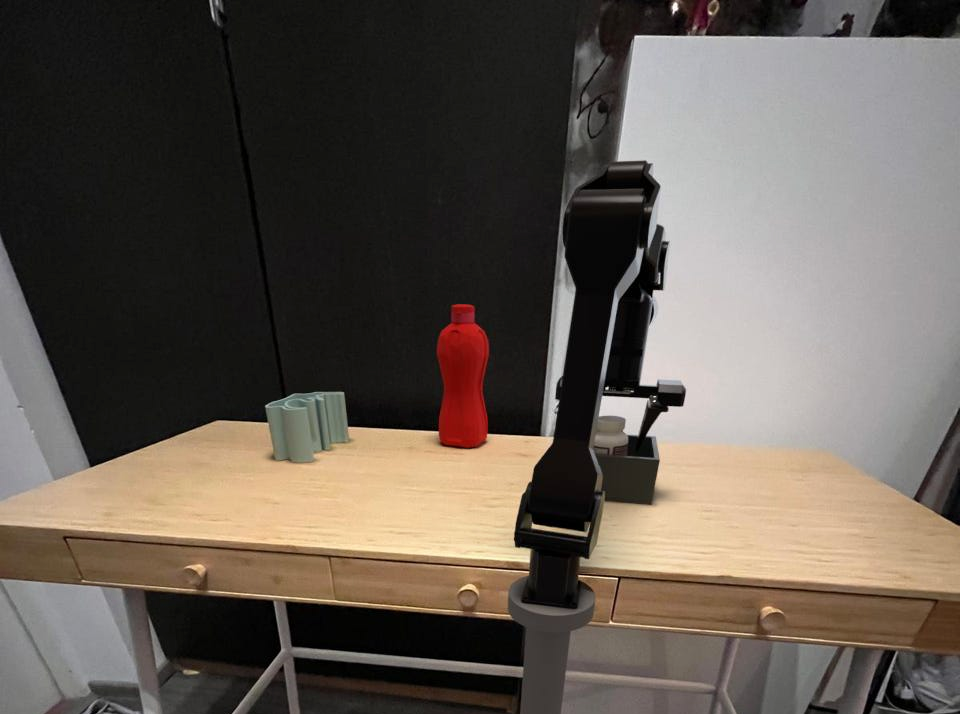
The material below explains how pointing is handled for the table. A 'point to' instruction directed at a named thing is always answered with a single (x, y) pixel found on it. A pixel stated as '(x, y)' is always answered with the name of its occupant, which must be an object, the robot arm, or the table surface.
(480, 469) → the table surface
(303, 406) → the squiggly pen holder
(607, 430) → the pill bottle
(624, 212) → the robot arm
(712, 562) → the table surface
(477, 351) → the water bottle
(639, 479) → the waste bin
